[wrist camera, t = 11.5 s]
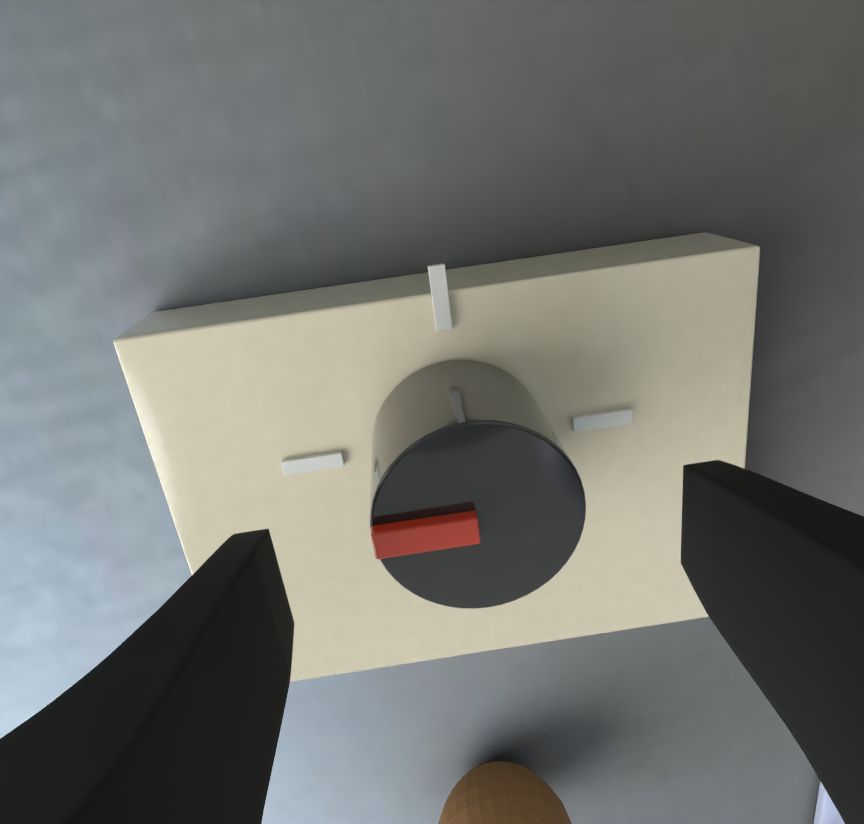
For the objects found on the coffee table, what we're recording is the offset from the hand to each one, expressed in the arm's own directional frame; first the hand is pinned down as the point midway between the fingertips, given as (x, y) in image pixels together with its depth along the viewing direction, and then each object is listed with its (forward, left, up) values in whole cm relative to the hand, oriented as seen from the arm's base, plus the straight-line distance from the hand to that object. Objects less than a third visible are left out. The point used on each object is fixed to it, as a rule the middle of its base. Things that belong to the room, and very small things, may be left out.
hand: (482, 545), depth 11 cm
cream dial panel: (0, +2, -7) cm, 7 cm away
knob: (0, 0, -4) cm, 4 cm away
